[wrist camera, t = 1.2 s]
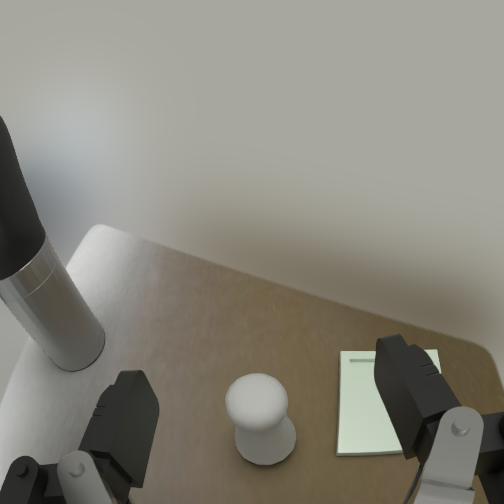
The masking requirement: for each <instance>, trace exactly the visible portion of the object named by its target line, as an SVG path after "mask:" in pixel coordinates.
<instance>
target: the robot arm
mask: <svg viewBox="0 0 504 504" xmlns="http://www.w3.org/2000/svg"><path fill="white" fill-rule="evenodd" d="M0 298H1V299H2V300H3V302H4V303H5V304H6V306H7V307H8V308H9V310H10V311H11V312H12V314H13V315H14V316H15V317H16V318H17V320H18V321H19V322H20V324H21V325H22V326H23V327H24V328H25V330H26V331H27V332H28V333H29V334H30V336H31V337H32V338H33V339H34V340H35V341H36V342H37V344H38V345H39V346H40V347H41V348H42V349H43V350H44V352H45V353H46V354H47V355H48V356H49V357H50V358H51V359H52V360H53V361H54V362H55V363H56V364H57V365H58V366H59V367H60V368H62V369H64V370H66V371H77V370H80V369H83V368H85V367H87V366H88V365H90V364H91V363H92V362H93V361H94V360H95V359H96V358H97V357H98V356H99V354H100V352H101V351H102V348H103V346H104V341H105V333H104V330H103V328H102V327H101V325H100V324H99V322H98V321H97V319H96V318H95V316H94V315H93V313H92V312H91V310H90V308H89V307H88V305H87V304H86V302H85V300H84V299H83V297H82V296H81V294H80V292H79V291H78V289H77V288H76V286H75V284H74V283H73V281H72V279H71V278H70V276H69V274H68V272H67V271H66V269H65V267H64V266H63V264H62V262H61V260H60V258H59V257H58V255H57V253H56V251H55V249H54V248H53V246H52V244H51V242H50V240H49V238H48V236H47V234H46V232H45V230H44V228H43V226H42V224H41V222H40V220H39V217H38V214H37V211H36V208H35V206H34V203H33V200H32V198H31V196H30V193H29V191H28V188H27V186H26V183H25V181H24V178H23V175H22V172H21V169H20V166H19V163H18V159H17V156H16V153H15V149H14V146H13V143H12V140H11V137H10V134H9V132H8V129H7V126H6V125H5V123H4V121H3V119H2V117H1V116H0ZM374 380H375V385H376V387H377V390H378V392H379V394H380V397H381V399H382V401H383V404H384V406H385V408H386V411H387V413H388V416H389V418H390V420H391V423H392V425H393V428H394V430H395V433H396V435H397V438H398V440H399V442H400V445H401V448H402V450H403V453H404V455H405V458H406V460H407V459H410V458H413V457H416V456H417V458H418V461H419V463H420V464H419V466H418V468H417V471H416V473H415V476H414V478H413V481H412V483H411V486H410V488H409V490H408V493H407V495H406V497H405V499H404V502H403V504H472V503H473V499H474V489H472V488H471V484H472V480H473V476H475V475H478V476H479V478H480V481H481V484H482V486H483V489H484V491H485V494H486V497H487V500H488V502H489V504H504V412H500V413H493V414H487V415H480V414H479V413H478V412H477V411H475V410H474V409H471V408H469V407H462V405H461V404H460V403H459V401H458V400H457V398H456V396H455V395H454V393H453V392H452V390H451V388H450V387H449V385H448V384H447V382H446V381H445V379H444V377H443V376H442V374H441V373H439V370H438V368H437V367H436V365H434V362H433V361H432V359H431V358H430V356H429V355H428V353H427V352H426V351H424V350H423V349H421V348H420V347H418V346H417V345H411V346H408V345H407V344H406V342H405V341H404V339H403V337H402V336H401V335H400V334H395V335H391V336H386V337H382V338H379V339H378V340H377V343H376V354H375V363H374ZM96 406H97V408H95V410H94V412H93V417H91V419H90V422H89V424H88V426H87V429H86V431H85V434H84V436H83V439H82V441H81V444H80V446H79V449H78V451H72V452H69V453H67V454H66V455H64V456H63V457H62V458H61V460H60V461H59V463H57V464H48V465H39V464H38V463H37V462H36V461H35V460H34V459H33V458H32V457H29V456H21V457H19V458H17V459H16V460H14V461H13V463H12V464H11V466H10V468H9V470H8V473H7V475H6V478H5V480H4V483H3V485H2V488H1V491H0V504H135V503H134V501H133V499H132V497H131V496H130V495H129V491H130V487H136V488H142V487H143V482H144V478H145V473H146V469H147V464H148V460H149V455H150V451H151V446H152V442H153V438H154V434H155V429H156V425H157V421H158V417H159V403H158V400H157V397H156V395H155V394H154V392H153V390H152V388H151V386H150V384H149V382H148V380H147V378H146V376H145V374H144V372H143V371H141V370H134V371H121V372H120V373H119V375H118V377H117V379H116V382H115V384H114V385H110V386H109V387H108V388H107V389H106V390H105V391H104V392H103V393H102V394H101V396H100V398H99V401H98V403H97V405H96Z"/></svg>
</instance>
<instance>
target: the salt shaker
mask: <svg viewBox="0 0 504 504" xmlns="http://www.w3.org/2000/svg"><path fill="white" fill-rule="evenodd" d="M225 404H226V411H227V415H228V416H229V417H230V419H231V420H232V422H233V423H234V424H235V442H236V448H237V449H238V451H239V452H240V453H241V455H242V456H243V457H244V458H245V459H247V460H249V461H251V462H253V463H255V464H257V465H272V464H275V463H277V462H280V461H282V460H284V459H285V458H286V457H287V456H288V455H289V454H290V453H291V452H292V450H293V449H294V445H295V442H296V438H297V437H296V432H295V428H294V425H293V423H292V422H291V420H290V419H289V417H288V416H287V414H286V411H287V407H288V399H287V395H286V391H285V389H284V387H283V386H282V385H281V384H280V383H279V382H278V381H277V380H276V379H275V378H273V377H271V376H268V375H266V374H248V375H246V376H243V377H240V378H238V379H237V380H236V381H235V382H234V383H233V384H232V385H231V386H230V387H229V390H228V392H227V394H226V397H225Z"/></svg>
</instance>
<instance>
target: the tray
mask: <svg viewBox="0 0 504 504" xmlns="http://www.w3.org/2000/svg"><path fill="white" fill-rule="evenodd" d="M424 351H426V352H427V353H428V355H429V356H430V358H431V359H432V361H433V362H434V365H436V367H437V368H438V370H439V373H441V369H440V364H439V358H438V353H437V349H436V350H424ZM375 354H376V351H341V353H340V357H339V398H338V423H337V441H336V455H335V456H362V455H383V454H396V453H403V450H402V448H401V445H400V442H399V440H398V438H397V435H396V433H395V430H394V428H393V425H392V423H391V420H390V418H389V416H388V413H387V411H386V408H385V406H384V404H383V401H382V399H381V397H380V394H379V392H378V390H377V387H376V385H375V380H374V363H375Z"/></svg>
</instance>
